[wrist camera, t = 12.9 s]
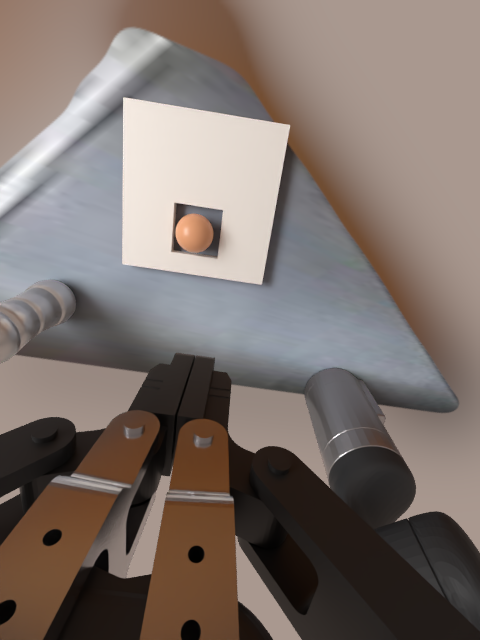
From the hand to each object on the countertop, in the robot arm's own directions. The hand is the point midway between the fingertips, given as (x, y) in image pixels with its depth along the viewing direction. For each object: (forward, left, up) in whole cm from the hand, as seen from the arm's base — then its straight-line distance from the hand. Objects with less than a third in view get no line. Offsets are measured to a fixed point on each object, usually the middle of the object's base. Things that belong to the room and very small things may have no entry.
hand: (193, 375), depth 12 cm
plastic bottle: (+25, +12, -35) cm, 45 cm away
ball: (+5, -1, -32) cm, 33 cm away
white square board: (+5, -5, -35) cm, 36 cm away
